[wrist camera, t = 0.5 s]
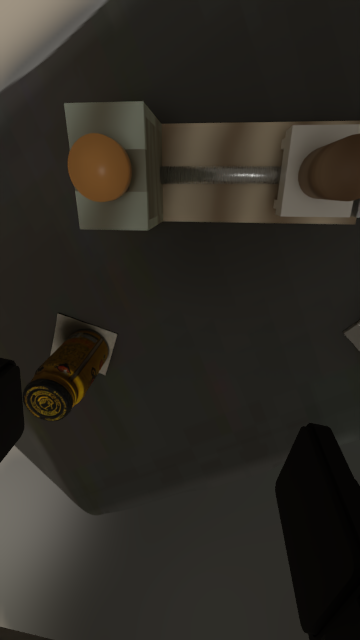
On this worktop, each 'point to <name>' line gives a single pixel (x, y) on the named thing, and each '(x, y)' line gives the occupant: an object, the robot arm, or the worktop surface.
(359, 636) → the robot arm
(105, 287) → the worktop surface
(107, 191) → the button
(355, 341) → the skyscraper
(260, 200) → the rail base
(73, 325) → the condiment
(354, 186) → the carriage
